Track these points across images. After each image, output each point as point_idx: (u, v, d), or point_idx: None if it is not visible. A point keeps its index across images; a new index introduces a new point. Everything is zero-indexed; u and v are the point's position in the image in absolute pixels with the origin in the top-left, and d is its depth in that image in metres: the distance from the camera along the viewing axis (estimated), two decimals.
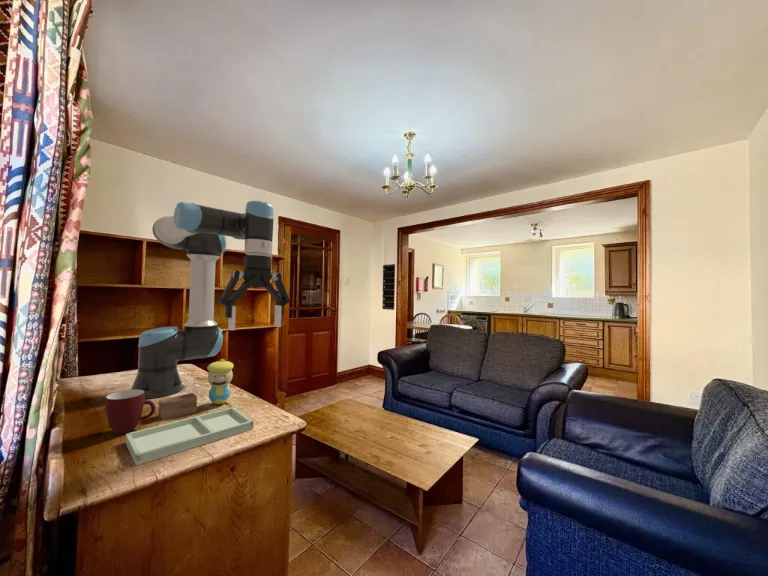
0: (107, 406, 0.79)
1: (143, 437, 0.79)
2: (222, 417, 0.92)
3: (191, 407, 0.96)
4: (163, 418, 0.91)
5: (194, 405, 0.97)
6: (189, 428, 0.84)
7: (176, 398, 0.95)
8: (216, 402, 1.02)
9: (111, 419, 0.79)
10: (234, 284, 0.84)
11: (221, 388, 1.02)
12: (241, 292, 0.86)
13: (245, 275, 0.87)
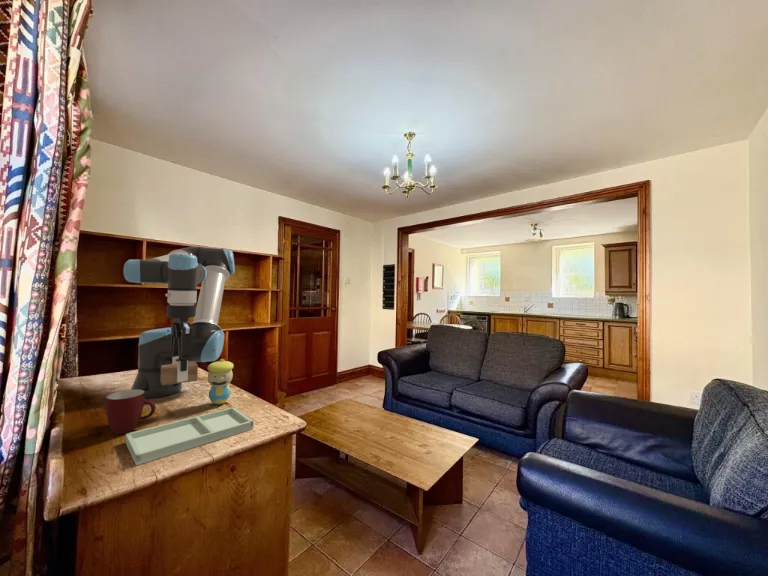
0: (107, 406, 0.79)
1: (143, 437, 0.79)
2: (222, 417, 0.92)
3: (192, 375, 0.96)
4: (163, 383, 0.91)
5: (195, 373, 0.97)
6: (189, 428, 0.84)
7: None
8: (216, 402, 1.02)
9: (111, 419, 0.79)
10: (171, 334, 0.98)
11: (221, 388, 1.02)
12: (173, 342, 0.97)
13: None
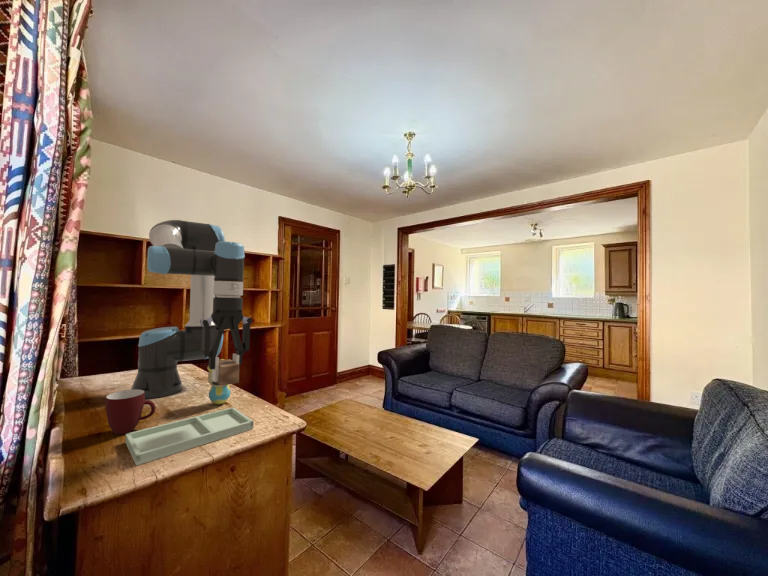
0: (107, 406, 0.79)
1: (143, 437, 0.79)
2: (222, 417, 0.92)
3: None
4: (238, 380, 0.86)
5: None
6: (189, 428, 0.84)
7: (228, 363, 0.87)
8: (216, 402, 1.02)
9: (111, 419, 0.79)
10: (208, 334, 0.83)
11: (221, 388, 1.02)
12: (218, 340, 0.85)
13: (214, 320, 0.84)
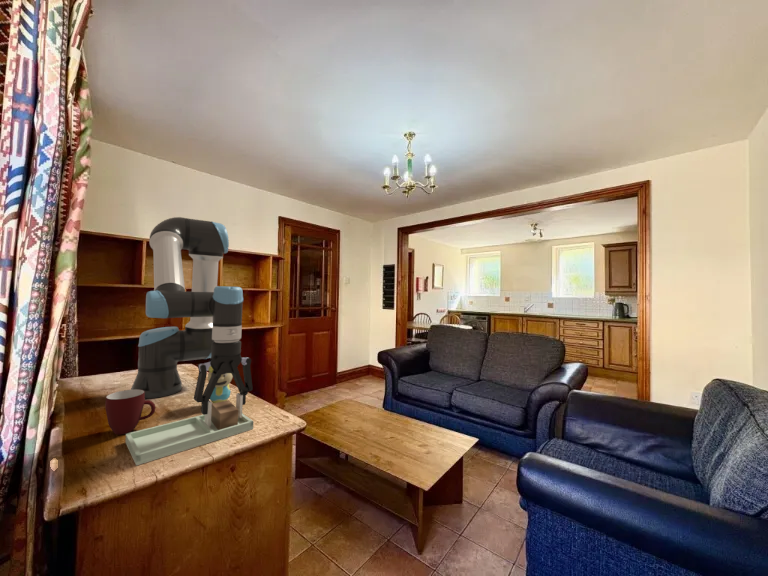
0: (107, 406, 0.79)
1: (143, 437, 0.79)
2: None
3: None
4: None
5: None
6: (189, 428, 0.84)
7: (226, 406, 0.87)
8: (216, 402, 1.02)
9: (111, 419, 0.79)
10: (204, 379, 0.83)
11: (221, 388, 1.02)
12: (213, 385, 0.84)
13: (212, 365, 0.84)
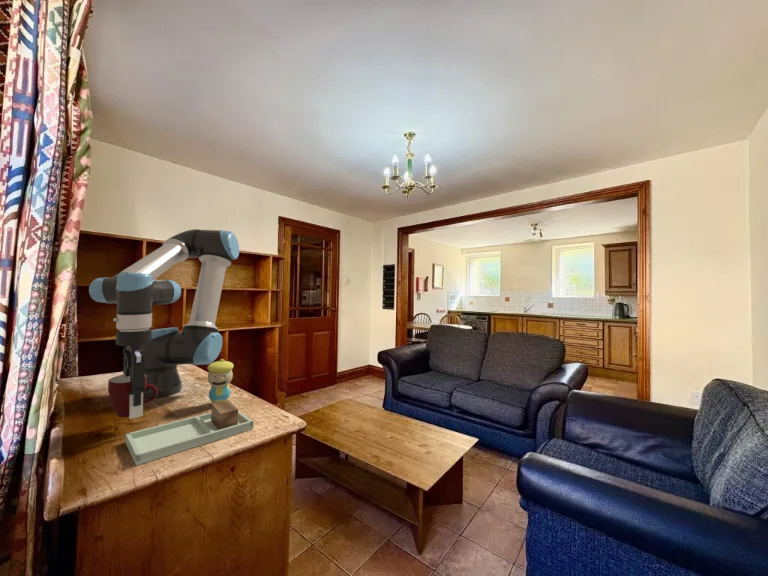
0: (110, 389, 0.80)
1: (143, 437, 0.79)
2: None
3: None
4: None
5: None
6: (189, 428, 0.84)
7: (226, 406, 0.87)
8: (216, 402, 1.02)
9: (114, 402, 0.80)
10: None
11: (221, 388, 1.02)
12: (125, 369, 0.86)
13: None
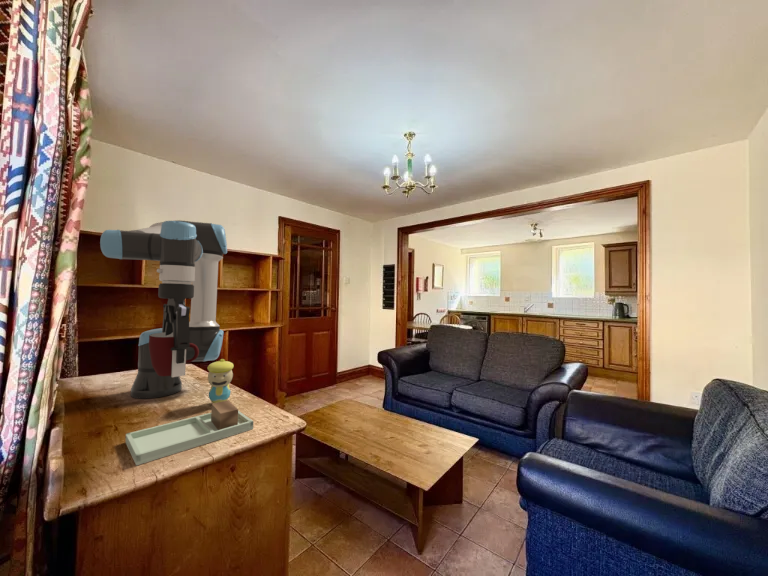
0: (151, 344, 0.74)
1: (143, 437, 0.79)
2: None
3: None
4: None
5: None
6: (189, 428, 0.84)
7: (226, 406, 0.87)
8: (216, 402, 1.02)
9: (155, 358, 0.74)
10: (163, 319, 0.82)
11: (221, 388, 1.02)
12: (165, 327, 0.80)
13: None
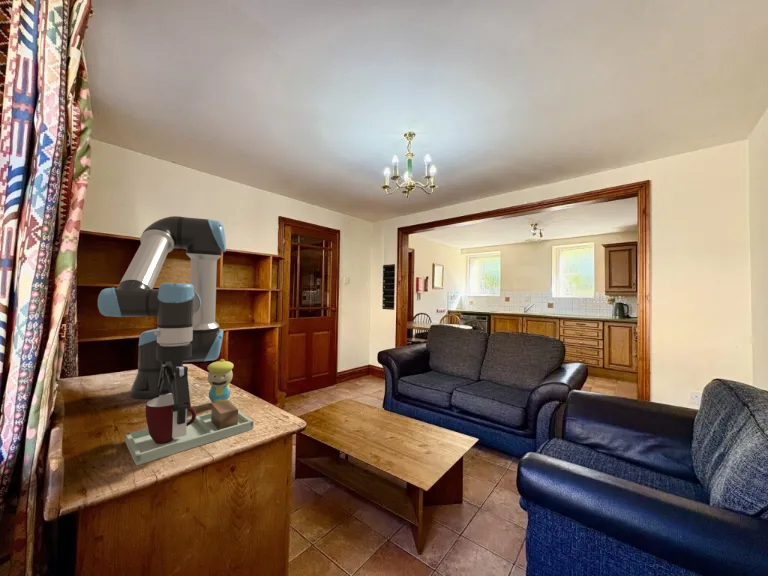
0: (148, 414, 0.74)
1: (143, 437, 0.79)
2: None
3: None
4: None
5: None
6: (189, 428, 0.84)
7: (226, 406, 0.87)
8: (216, 402, 1.02)
9: (152, 428, 0.74)
10: (160, 372, 0.82)
11: (221, 388, 1.02)
12: (162, 382, 0.81)
13: None
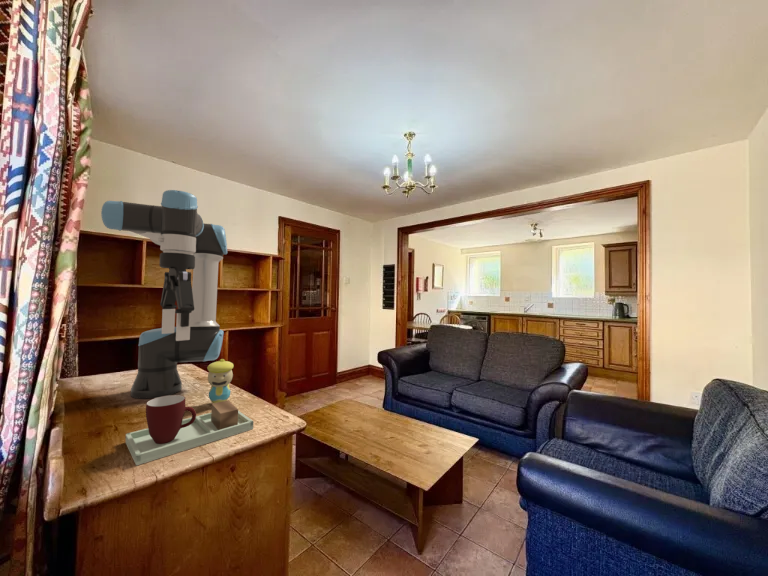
0: (148, 414, 0.74)
1: (143, 437, 0.79)
2: None
3: None
4: None
5: None
6: (189, 428, 0.84)
7: (226, 406, 0.87)
8: (216, 402, 1.02)
9: (152, 427, 0.74)
10: (164, 286, 0.82)
11: (221, 388, 1.02)
12: (165, 294, 0.81)
13: None
